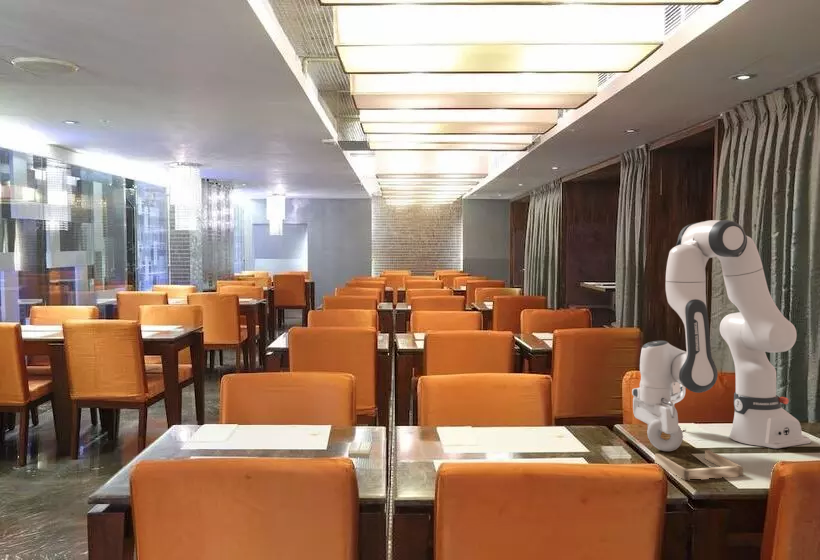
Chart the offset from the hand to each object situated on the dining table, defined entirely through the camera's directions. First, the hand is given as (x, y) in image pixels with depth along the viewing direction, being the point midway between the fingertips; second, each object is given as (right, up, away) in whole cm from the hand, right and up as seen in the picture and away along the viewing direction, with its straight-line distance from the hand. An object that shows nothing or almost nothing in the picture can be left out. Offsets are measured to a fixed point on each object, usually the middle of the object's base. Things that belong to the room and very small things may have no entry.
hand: (655, 440), depth 196 cm
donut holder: (+3, -3, -21) cm, 22 cm away
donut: (+1, -2, -5) cm, 6 cm away
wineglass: (+12, -1, +18) cm, 22 cm away
